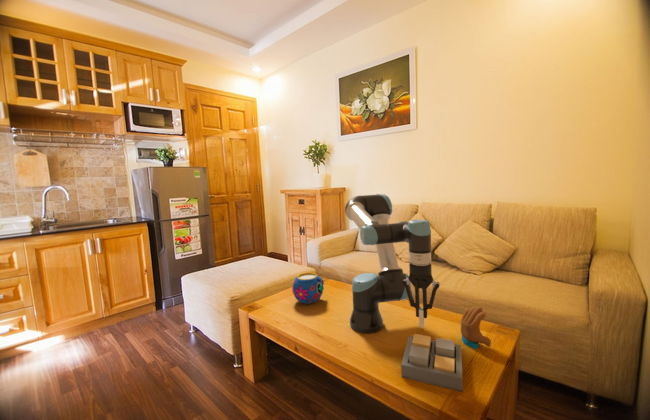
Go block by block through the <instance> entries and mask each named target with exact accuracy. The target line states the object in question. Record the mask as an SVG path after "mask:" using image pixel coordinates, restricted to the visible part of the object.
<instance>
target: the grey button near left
mask: <svg viewBox="0 0 650 420" xmlns="http://www.w3.org/2000/svg"><path fill="white" fill-rule="evenodd" d="M409 363H411V364H415V365H420V366H424V367H428V366H429V349H427V348H422V347H417V346H412V345H411V349H410V353H409Z"/></svg>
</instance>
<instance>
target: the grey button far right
mask: <svg viewBox="0 0 650 420" xmlns="http://www.w3.org/2000/svg"><path fill="white" fill-rule="evenodd" d="M435 341H436V354H437V355H442V356H447V357H451V358H454V344H455V340H452V339H446V338H440V337H436V339H435Z"/></svg>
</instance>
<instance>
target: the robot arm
mask: <svg viewBox="0 0 650 420" xmlns="http://www.w3.org/2000/svg"><path fill="white" fill-rule="evenodd" d="M344 213H345V215H346V217H347V218H348V219H349V220H350V221H353V222H354V223H355V225H356V226H357V228H358V229H359V237H360V240H361V241H360V242H361V243H362V244H363V245H364V246H375V249H376V254H377V257H378V258H377V259H378V263H379V268H380V270H379V272H378V273H374V272H373V273H372V272H365V273H364V272H363V273H361V274H357V275H356V276H355V277H353V278H352V282H351V290H352V313H351V316H350V319H349V324H350V325H349V326H350V329H352V330H353V331H356V332H358V333H361V334H374V333H377V332H380V331H381V330H382V329H383V327H384V320H383V317H382V314H381V312H380V309H379V304H381V303H389V302H390V303H391V302H395V301H397V302H400V301H405V300H407V299H408V302H409V305H410V308H411V307H412V308H414V309H415V316H416V318H418V321H419V322H418V325H419V328H422V329H423V328H424V327H425V319H427V318H428V310H432V309H433V305H434V301H435V298H436V293H437V290H438V289H439V288H440V282H439V281H436V280H435V279H434V277H433V276H432V275H433V274H432V229H431V223H430V221H429V220H428V219H411V220H409V221H407V220H405V221H404V220H403V221H401V220H400V221H398V222H395V223H389V219H390V218H391V216H392V213H393V205H392V201H391V199H390V197H389V196H388V195H386V194H382V193H381V194H379V193H376V194H370V195H369V194H367V195H366V194H365V195H356V196H354V197H352V198H350V199H349V200H348V201H347V203H346V204H345V207H344ZM396 243H408V259H409V260H408V262H409V264H408V267H409V274H407V273H404V271H403V268H402V267H400V266H399V263H398V258H397V255H396V254H397V253H396V250H395V246H394V244H396ZM411 284H412V285H411ZM431 284H432V285H431ZM430 285H431V286H432V291H431V295H430V298H429V302H428V296H427V295H428V288H429V287H430ZM412 286H413V287H414V292H415V293H414V295H415V296H414V295H413V292H412ZM420 289H421V291H422V306H421V303H420V302H421V301H420V300H421V297H420ZM414 298H415V299H414Z"/></svg>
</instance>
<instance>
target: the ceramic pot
mask: <svg viewBox="0 0 650 420" xmlns="http://www.w3.org/2000/svg"><path fill="white" fill-rule="evenodd" d="M292 282H293V283H292V287H291V289H292V293H293V295H294V298H295V300H297V301H298V302H300V303H301V304H312V303H315V302H317V301H318V300H320V299H321V297H322V295H323V293H324V289H325V288H324V283H325V282H324V278H322V277H321V276H319V275H318V274H317V273H314V272H304V273H300V274H298V275H297V276H296V277H295V279H294V280H293V281H292Z"/></svg>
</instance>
